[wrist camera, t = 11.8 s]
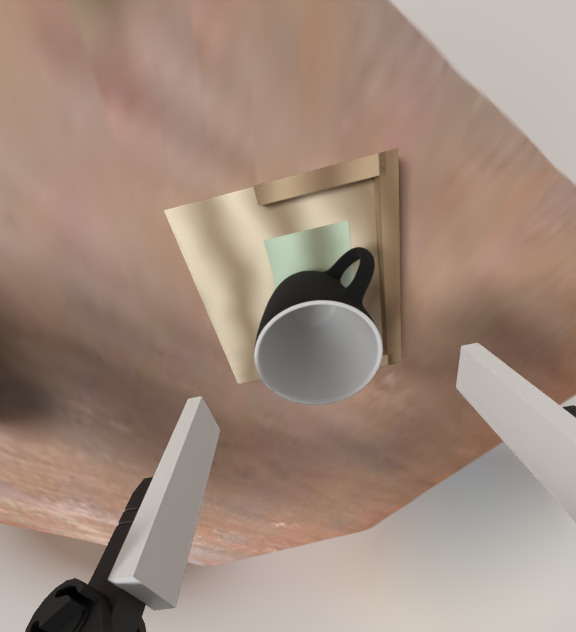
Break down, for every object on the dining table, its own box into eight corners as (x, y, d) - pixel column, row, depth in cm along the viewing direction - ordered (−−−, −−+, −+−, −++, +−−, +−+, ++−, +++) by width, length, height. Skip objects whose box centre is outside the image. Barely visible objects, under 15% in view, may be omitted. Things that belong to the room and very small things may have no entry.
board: (240, 373, 33) (235, 392, 30) (173, 208, 23) (155, 211, 20) (389, 345, 31) (401, 362, 28) (382, 154, 21) (398, 147, 18)
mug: (318, 348, 28) (332, 420, 19) (250, 313, 26) (231, 377, 17) (386, 261, 24) (447, 304, 15) (310, 210, 22) (328, 225, 13)
